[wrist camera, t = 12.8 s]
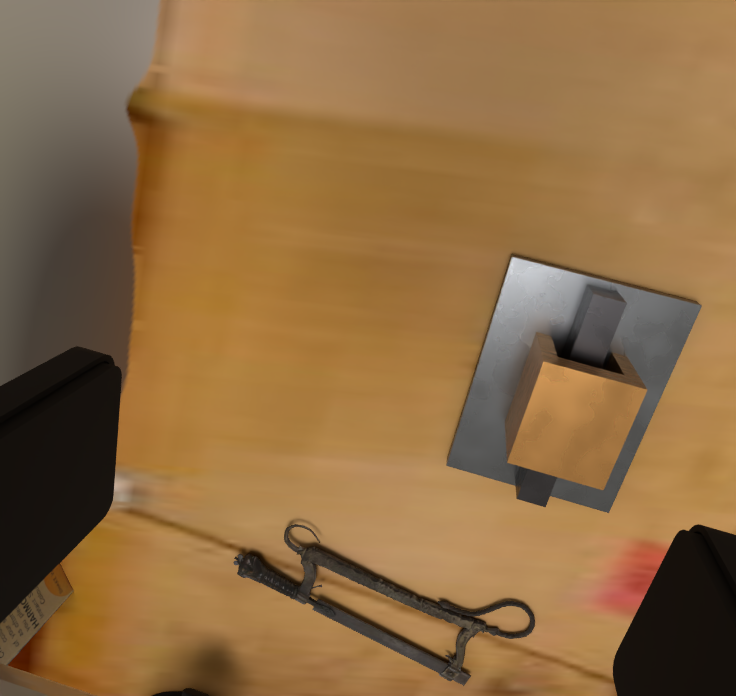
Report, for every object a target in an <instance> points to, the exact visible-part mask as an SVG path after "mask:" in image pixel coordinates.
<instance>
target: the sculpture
mask: <svg viewBox="0 0 736 696" xmlns="http://www.w3.org/2000/svg"><path fill="white" fill-rule="evenodd" d="M153 696H209V695H208V694H205V693H203V692H200V691H197V690H194V689H192V688H186V689H184V690H183V692H162V693H159V694H155V695H153Z"/></svg>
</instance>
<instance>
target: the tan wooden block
mask: <svg viewBox="0 0 736 696" xmlns="http://www.w3.org/2000/svg"><path fill="white" fill-rule="evenodd" d="M646 392H647V388H646V386H645V385H644V383H643V382H642V380H641V378H640V377H639V375H638V373H637V372H636V370H635V369H634V367H633V365H632V364H631V362H630V360H629V359H628V357H627V356H624V355H620V354H617V353H613V352H612V353H611V355H610V358H609V360H608V362H607V365H606V367H605V370H604V369H600V368H596V367H593V366H589V365H585V364H582V363H578V362H574V361H571V360H567V359H563V358H560V357H558V356H557V353H556V350H555V346H554V343H553V340H552V337H551V336H549V335H546V334H542V333H538V332H536V334H535V337H534V340H533V343H532V346H531V349H530V352H529V354H528V357H527V360H526V363H525V366H524V369H523V372H522V375H521V377H520V380H519V383H518V386H517V389H516V392H515V395H514V398H513V400H512V403H511V406H510V409H509V412H508V415H507V418H506V420H505V437H506V453H507V463H510V464H514V465H517V466H520V467H524V468H527V469H531V470H534V471H538V472H541V473H545V474H548V475H552V476H555V477H558V478H562V479H565V480H569V481H572V482H576V483H579V484H583V485H586V486H590V487H593V488H596V489H600V490H604V488H605V486H606V483H607V481H608V479H609V477H610V474H611V472H612V470H613V467H614V465H615V463H616V461H617V458H618V456H619V454H620V452H621V449H622V447H623V445H624V442H625V440H626V438H627V436H628V433H629V431H630V429H631V426H632V424H633V422H634V420H635V417H636V415H637V413H638V411H639V408H640V406H641V404H642V401H643V399H644V397H645V395H646Z"/></svg>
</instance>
